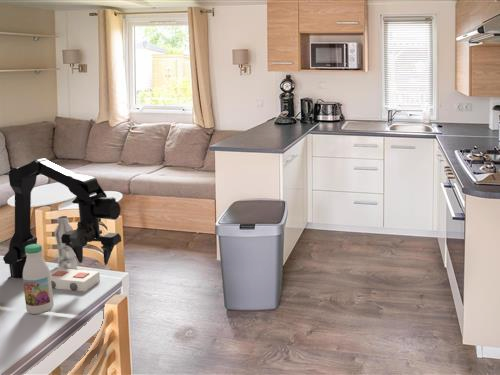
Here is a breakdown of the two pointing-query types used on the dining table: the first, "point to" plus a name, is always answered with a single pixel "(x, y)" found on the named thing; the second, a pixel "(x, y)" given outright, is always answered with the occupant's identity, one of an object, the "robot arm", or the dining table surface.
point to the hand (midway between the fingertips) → (93, 263)
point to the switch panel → (74, 279)
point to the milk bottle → (37, 281)
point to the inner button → (60, 273)
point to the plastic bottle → (64, 252)
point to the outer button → (81, 275)
